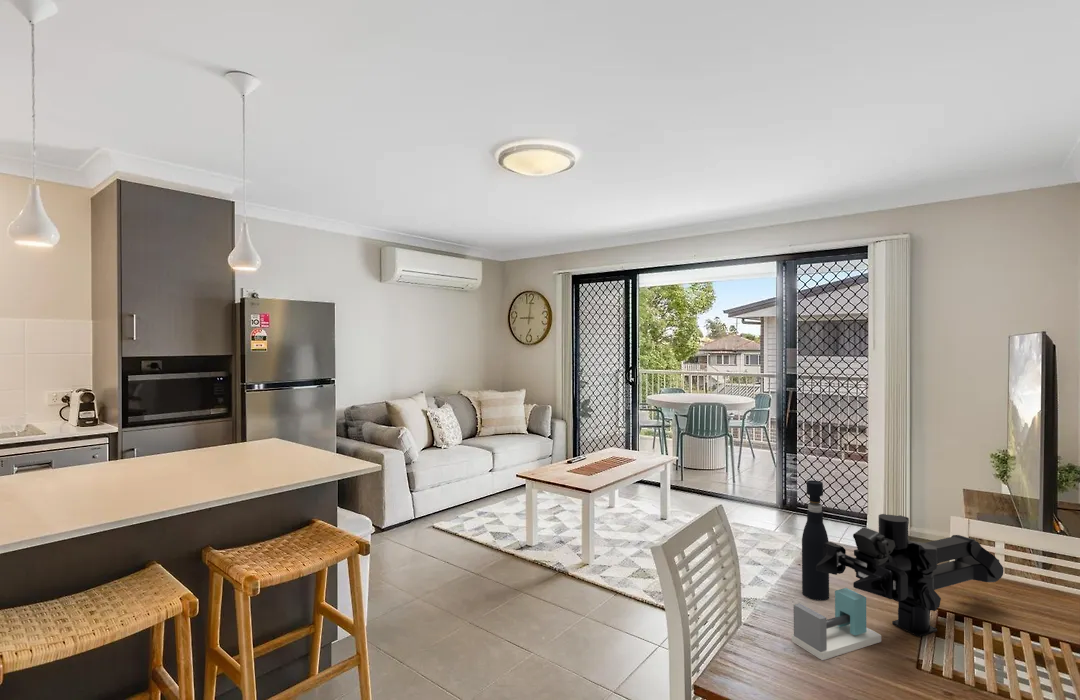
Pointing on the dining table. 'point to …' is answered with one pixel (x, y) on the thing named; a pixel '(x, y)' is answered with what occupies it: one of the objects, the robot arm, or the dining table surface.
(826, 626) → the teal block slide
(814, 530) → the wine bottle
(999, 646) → the dining table surface
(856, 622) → the teal block on rod
